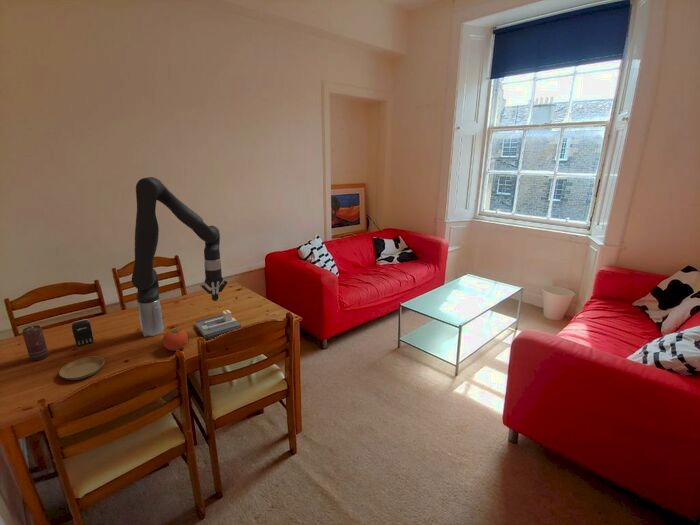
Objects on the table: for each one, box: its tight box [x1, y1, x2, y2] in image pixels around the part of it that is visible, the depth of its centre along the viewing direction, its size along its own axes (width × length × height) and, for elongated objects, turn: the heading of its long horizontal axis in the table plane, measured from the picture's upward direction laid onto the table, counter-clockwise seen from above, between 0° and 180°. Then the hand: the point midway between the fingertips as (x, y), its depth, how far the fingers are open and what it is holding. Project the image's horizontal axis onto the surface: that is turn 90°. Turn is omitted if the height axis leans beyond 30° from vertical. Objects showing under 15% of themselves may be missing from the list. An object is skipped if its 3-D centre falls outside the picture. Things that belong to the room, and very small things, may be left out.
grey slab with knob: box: [195, 313, 242, 341], centre depth 178 cm, size 16×19×2 cm
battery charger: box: [71, 318, 95, 347], centre depth 159 cm, size 7×4×11 cm, turn 130°
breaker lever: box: [222, 309, 233, 322], centre depth 180 cm, size 3×4×5 cm
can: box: [21, 325, 49, 362], centre depth 147 cm, size 6×6×14 cm
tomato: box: [162, 328, 189, 352], centre depth 157 cm, size 10×10×10 cm
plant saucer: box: [58, 355, 105, 381], centre depth 141 cm, size 15×15×3 cm
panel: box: [194, 316, 242, 339], centre depth 178 cm, size 18×15×3 cm
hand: (215, 300), depth 174 cm, fingers closed
